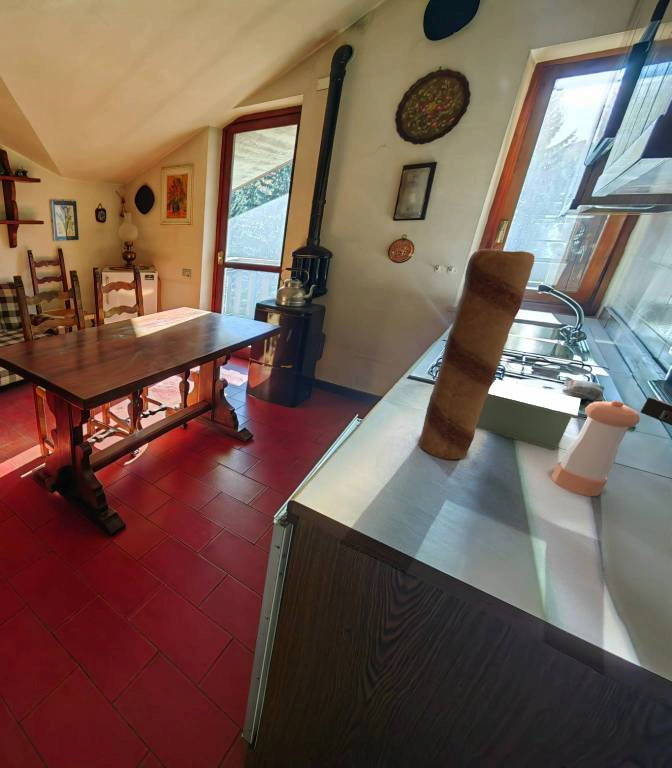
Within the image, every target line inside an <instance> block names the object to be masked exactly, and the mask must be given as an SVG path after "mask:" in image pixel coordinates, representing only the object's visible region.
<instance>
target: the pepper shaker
mask: <svg viewBox="0 0 672 768" xmlns="http://www.w3.org/2000/svg"><path fill="white" fill-rule="evenodd" d="M584 412H585V415H586V417H587V418H586V419H585V422H584V423H583V425H582V427H581V429H580V431H579V433H578V435H577V436H576V438H574V440H573V441H572V443H571V444H570V445H569V446H568V448H567V449H566V451H565V453H564V455H563V456H562V460H561V461H559V462H558V463H557V464H556V466H555V468H554V470H553V472H552V474H551V476H550V478H551V481H552V482H553V483H554V484H556V485H557V486H559V487H561V488H563V489H565V490H566V491H569V492H572V493H575V494H578V495H582V496H586V497H598V496H600V494H601V492H602V491H603V489H604V487H605V486H606V484H607V482H608V477H607V476H608V474H609V473H610V471H611V469H612V468H613V466H614V465H615V462H616V458H617V455H618V450H619V447H620V445H621V444H622V443H621V442H622V441H623V439H624V437H625V435H626V433H627V432H628V430H629V428H633V427H635V426H637V425H638V424H639V423H640V420H641V417H640V414H639V412H638V411H636V410H635V409H633V408H631V407H630V406H627V405H625V404H624V402H622V401H620V400H612V401H599V402H593V401H592V402H591V403H589V404H588V405H587V406H586V407H585V409H584Z"/></svg>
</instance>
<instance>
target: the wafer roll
mask: <svg viewBox="0 0 672 768" xmlns="http://www.w3.org/2000/svg"><path fill="white" fill-rule="evenodd" d="M535 257H536V256H535V255H534V253H532V252H529V251H522V250H518V251H515V250H514V251H513V250H512V251H511V250H510V251H509V250H507V251H506V250H503V249H496V248H481V249H478V250H476V251H474V252H473V253H472V254H471V256H470V257H469V259H468V262H467V265H466V269H465V274H464V283H463V287H462V292H461V296H460V298H459V301H458V304H457V306H456V311H455V313H454V317H453V321H452V325H451V328H450V330H449V332H448V335H447V339H446V342H445V345H444V349H443V355H442V358H441V362H440V365H439V369H438V372H437V376H436V379H435V382H434V385H433V389H432V392H431V394H430V397H429V401H428V404H427V407H426V413H425V416H424V420H423V425H422V429H421V434H420V437H419V439H418V443H417V444H418V446H419V448H420V449H421V450H424V451H425V452H427V453H428V454H430V455H432V456H434V457H437V458H439V459H441V460H442V459H443V460H463V459H465V458H466V457H467V455H468V452H469V449H470V447H471V445H472V443H473V441H474V438H475V433H476V429H477V427H476V426H477V423H478V420H479V415H480V413H481V410H482V408H483V404H484V401H485V399H486V397H487V395H488V393H489V390H490V387H491V386H492V384H493V383H494V382H495V378H496V375H497V373H498V372H497V371H498V369H499V365H500V361H501V359H502V357H503V355H504V348H505V346H506V343H507V341H508V339H509V334H510V331H511V329H512V327H513V325H514V322H515V319H516V317H517V315H518V313H519V311H520V309H521V306H522V302H523V299H524V296H525V293H526V289H527V286H528V283H529V281H530V277H531V274H532V270H533V267H534V263H535Z"/></svg>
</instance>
